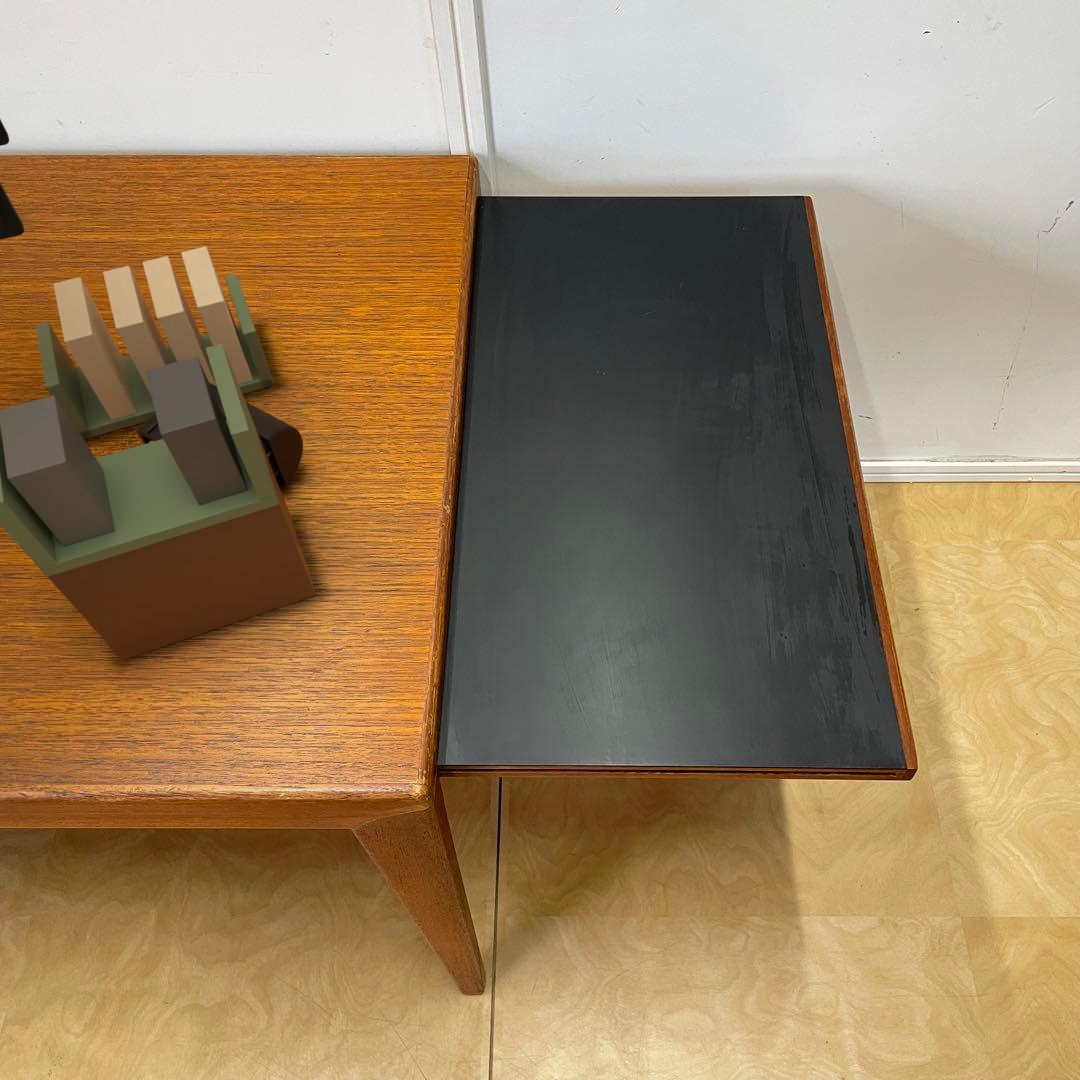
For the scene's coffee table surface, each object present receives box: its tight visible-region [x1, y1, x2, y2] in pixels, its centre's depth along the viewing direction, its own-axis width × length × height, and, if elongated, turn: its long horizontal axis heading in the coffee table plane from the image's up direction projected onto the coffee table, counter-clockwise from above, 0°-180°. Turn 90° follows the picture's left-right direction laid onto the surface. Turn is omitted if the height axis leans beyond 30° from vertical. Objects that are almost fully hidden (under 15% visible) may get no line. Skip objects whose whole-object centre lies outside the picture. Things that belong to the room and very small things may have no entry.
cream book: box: [53, 276, 136, 420], centre depth 73 cm, size 2×6×9 cm, turn 22°
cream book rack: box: [35, 245, 275, 441], centre depth 74 cm, size 16×7×10 cm, turn 112°
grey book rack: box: [0, 344, 317, 661], centre depth 59 cm, size 14×7×20 cm, turn 112°
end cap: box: [136, 383, 304, 492], centre depth 71 cm, size 10×7×7 cm
